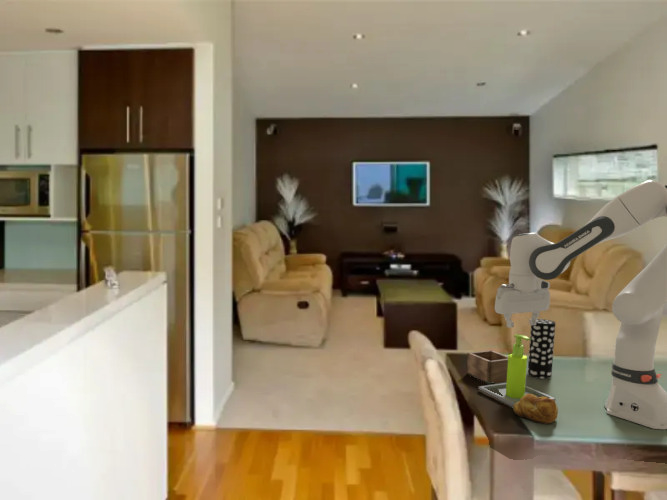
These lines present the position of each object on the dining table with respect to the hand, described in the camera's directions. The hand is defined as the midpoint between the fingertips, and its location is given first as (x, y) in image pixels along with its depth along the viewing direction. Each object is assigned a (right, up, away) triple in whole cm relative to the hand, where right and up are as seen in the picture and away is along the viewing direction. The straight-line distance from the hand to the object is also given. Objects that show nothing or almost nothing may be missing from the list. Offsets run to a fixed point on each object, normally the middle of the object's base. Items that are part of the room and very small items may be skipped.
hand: (521, 326), depth 198 cm
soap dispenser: (-1, -23, +3) cm, 23 cm away
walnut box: (-4, -21, +23) cm, 32 cm away
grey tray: (-1, -24, +3) cm, 24 cm away
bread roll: (0, -26, -15) cm, 30 cm away
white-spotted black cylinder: (+15, -22, +28) cm, 39 cm away
